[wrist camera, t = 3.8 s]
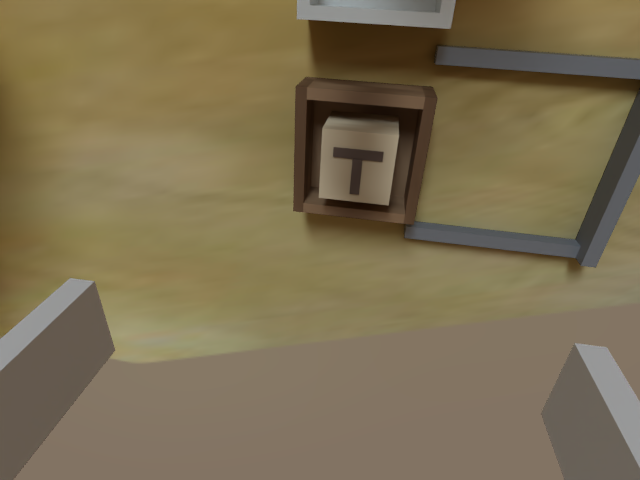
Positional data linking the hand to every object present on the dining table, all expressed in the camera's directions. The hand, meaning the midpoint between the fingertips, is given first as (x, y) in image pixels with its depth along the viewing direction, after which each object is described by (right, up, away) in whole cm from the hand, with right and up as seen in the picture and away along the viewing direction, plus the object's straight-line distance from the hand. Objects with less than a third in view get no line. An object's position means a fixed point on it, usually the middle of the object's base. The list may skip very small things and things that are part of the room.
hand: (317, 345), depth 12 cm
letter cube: (+3, +10, +17) cm, 20 cm away
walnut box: (+3, +10, +18) cm, 21 cm away
